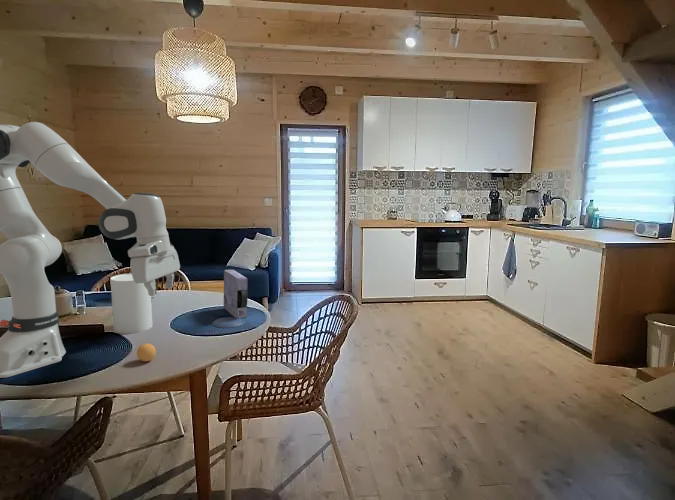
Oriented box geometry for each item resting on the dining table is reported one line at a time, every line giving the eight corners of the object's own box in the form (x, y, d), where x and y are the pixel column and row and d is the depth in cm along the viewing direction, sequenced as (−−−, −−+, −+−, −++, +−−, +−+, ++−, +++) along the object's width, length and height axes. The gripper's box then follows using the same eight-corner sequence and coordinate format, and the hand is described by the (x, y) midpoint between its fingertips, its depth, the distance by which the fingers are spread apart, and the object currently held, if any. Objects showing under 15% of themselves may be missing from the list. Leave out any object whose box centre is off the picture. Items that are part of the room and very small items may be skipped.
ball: (146, 365, 131) (145, 348, 130) (133, 362, 133) (132, 345, 132) (160, 359, 136) (159, 342, 135) (147, 356, 138) (146, 339, 137)
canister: (108, 327, 165) (105, 276, 162) (144, 319, 174) (141, 271, 171) (121, 336, 155) (117, 282, 152) (158, 327, 165) (155, 277, 162)
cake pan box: (248, 318, 178) (248, 277, 176) (237, 320, 176) (236, 278, 173) (233, 306, 194) (233, 268, 192) (223, 308, 192) (222, 269, 189)
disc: (232, 329, 164) (232, 329, 164) (205, 325, 169) (205, 324, 169) (251, 320, 176) (251, 319, 176) (225, 316, 181) (225, 315, 181)
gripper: (163, 243, 138) (169, 284, 140) (123, 252, 118) (132, 300, 120) (181, 241, 137) (187, 283, 139) (144, 250, 117) (152, 299, 119)
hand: (161, 291), depth 129 cm, fingers open, 8 cm apart
